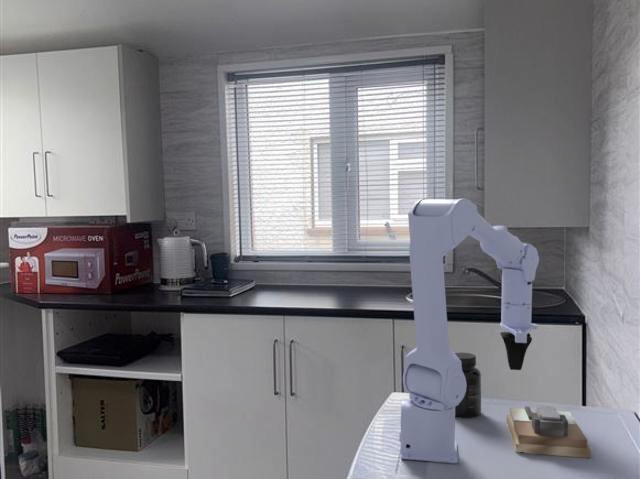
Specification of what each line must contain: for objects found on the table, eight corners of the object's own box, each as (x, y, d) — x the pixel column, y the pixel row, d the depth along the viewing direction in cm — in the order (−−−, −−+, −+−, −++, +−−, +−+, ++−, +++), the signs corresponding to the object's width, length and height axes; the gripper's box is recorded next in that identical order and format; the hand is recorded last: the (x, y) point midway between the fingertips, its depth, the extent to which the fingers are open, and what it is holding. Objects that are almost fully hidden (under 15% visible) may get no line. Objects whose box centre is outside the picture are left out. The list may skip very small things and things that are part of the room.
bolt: (541, 431, 98) (542, 416, 98) (536, 420, 103) (536, 405, 103) (559, 433, 97) (560, 417, 97) (554, 421, 102) (554, 406, 102)
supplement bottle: (477, 406, 118) (478, 351, 117) (483, 419, 111) (484, 360, 110) (444, 405, 119) (445, 350, 118) (448, 418, 112) (449, 360, 111)
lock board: (515, 452, 97) (516, 421, 97) (506, 422, 110) (507, 394, 110) (590, 458, 95) (591, 426, 95) (571, 426, 108) (572, 398, 107)
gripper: (544, 310, 104) (542, 381, 105) (531, 296, 118) (530, 359, 120) (504, 309, 106) (503, 379, 107) (496, 295, 120) (495, 357, 121)
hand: (515, 368), depth 113 cm, fingers closed
